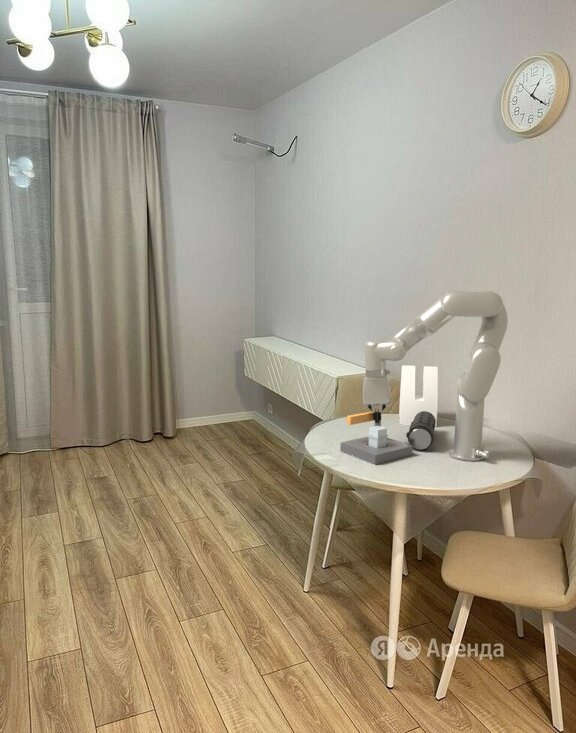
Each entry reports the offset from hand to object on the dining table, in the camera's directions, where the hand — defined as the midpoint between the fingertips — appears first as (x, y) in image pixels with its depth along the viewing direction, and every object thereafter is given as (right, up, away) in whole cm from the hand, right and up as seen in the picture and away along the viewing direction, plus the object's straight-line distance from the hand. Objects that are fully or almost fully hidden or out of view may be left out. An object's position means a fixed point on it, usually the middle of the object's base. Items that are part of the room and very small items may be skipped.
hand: (377, 422), depth 214 cm
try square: (-5, -6, +2) cm, 8 cm away
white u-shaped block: (+25, -4, +44) cm, 51 cm away
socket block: (-1, -11, -3) cm, 12 cm away
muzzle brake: (+14, -5, +13) cm, 20 cm away
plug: (-1, -11, -5) cm, 12 cm away
